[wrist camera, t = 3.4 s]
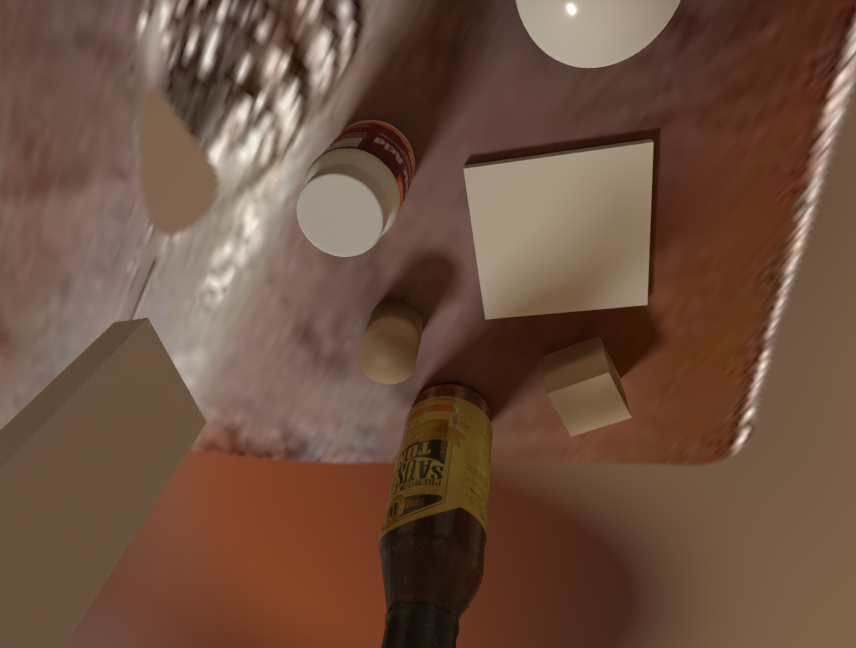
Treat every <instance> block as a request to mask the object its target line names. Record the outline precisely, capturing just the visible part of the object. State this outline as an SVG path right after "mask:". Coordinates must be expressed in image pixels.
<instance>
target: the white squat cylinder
mask: <svg viewBox="0 0 856 648" xmlns="http://www.w3.org/2000/svg"><path fill="white" fill-rule="evenodd" d="M679 3H680V0H515V4H516V7H517V10H518V14H519V16H520V18H521V20H522V23H523V25H524V26H525V28H526V30H527V32H528V33H529V35H530V36H531V38H532V39H533V41H534V42H535V43H536V44H537V45H538V46H539V47H540V48H541V49H542V50H543V51H544V52H545V53H546V54H548V55H549V56H551V57H552V58H554V59H555V60H558V61H560V62H562V63H564V64H567V65H571V66H574V67H582V68H597V67H604V66H608V65H612V64H615V63H618V62H620V61H623V60H625V59H627V58H629V57H631V56H632V55H634V54H636V53H638V52H639V51H640V50H642V49H643V48H644V47H646V46H647V45H648V44H649V43H650V42H651V41H652V40H654V39H655V38H656V37H657V35H658V34H659V33H660V32H661V31H662V30H663V29H664V27H665V26H666V25H667V23H668V22H669V20H670V19H671V17H672V16H673V14H674V12H675V10H676V9H677V7H678V5H679Z"/></svg>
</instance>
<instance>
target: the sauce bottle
mask: <svg viewBox="0 0 856 648" xmlns="http://www.w3.org/2000/svg"><path fill="white" fill-rule="evenodd" d="M490 421H491V413H490V408H489V407H488V405H487V403H486V401H485V400H484V399H483V397H481V395H479V394H478V393H476V392H475V391H474V390H471V389H470V388H468V387H466V386H463V385H457V384H442V385H436V386H433V387H430V388H427V389H425V391H424V392H421V393H420V394H419V395H418V397H417V398H416V400H415V402H414V404H413V405H412V409H411V410H410V412H409V414H408V416H407V419H406V423H405V428H404V432H403V437H402V441H401V446H400V450H399V455H398V459H397V464H396V467H395V472H394V478H393V482H392V486H391V491H390V495H389V500H388V504H387V509H386V513H385V518H384V522H383V526H382V530H381V535H380V540H379V549H380V555H381V563H382V572H383V580H384V589H385V597H386V605H387V613H386V616H385V631H384V637H383V642H382V647H381V648H456V638H457V636H458V633H459V624H458V623H459V621H458V619H459V618H460V616H461V614H463V612H465V610H466V609H467V608H468V607H469V604H470V602H471V601H472V600H473V599H474V597H475V595H476V593H477V592H478V590H479V587H480V584H481V581H482V576H483V569H484V567H483V565H484V547H485V544H486V541H487V523H488V522H487V521H488V502H489V483H490V464H491V446H492V427H491V423H490Z"/></svg>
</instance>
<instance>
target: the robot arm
mask: <svg viewBox="0 0 856 648" xmlns="http://www.w3.org/2000/svg"><path fill="white" fill-rule="evenodd" d="M205 424H206V420H205V419H204V417H203V415H202V413H201V411H200V410H199V408H198V406H197V404H196V403H195V401H194V399H193V397H192V396H191V394H190V392H189V390H188V388H187V387H186V385H185V383H184V381H183V380H182V378H181V376H180V374H179V372H178V371H177V369H176V367H175V365H174V364H173V362H172V360H171V358H170V357H169V355H168V353H167V351H166V349H165V348H164V346H163V344H162V342H161V341H160V339H159V337H158V335H157V333H156V332H155V330H154V328H153V326H152V325H151V323H150V321H149V319H148V318H144V319H137V320H130V321H123V322H115V323H113V324H112V325H111V326H110V327H109V328H108V329H107V330H106V331H105V332H104V333H103V334H102V335H101V336H100V337H99V338H98V339H96V340H95V341H94V342H93V343H92V344H91V345H90V346H89V347H88V348H87V349H86V350H85V351H84V352H83V353H82V354H81V355H80V356H79V357H77V358H76V359H75V360H74V361H73V362H72V363H71V364H70V365H69V366H68V367H67V368H66V369H65V370H64V371H63V372H62V373H61V374H60V375H58V376H57V377H56V378H55V379H54V380H53V381H52V382H51V383H50V384H49V385H48V386H47V387H46V388H45V389H44V390H43V391H42V392H41V393H39V394H38V395H37V396H36V397H35V398H34V399H33V400H32V401H31V402H30V403H29V404H28V405H27V406H26V407H25V408H24V409H23V410H22V411H20V412H19V413H18V414H17V415H16V416H15V417H14V418H13V419H12V420H11V421H10V422H9V423H8V424H7V425H6V426H5V427H4V428H3V429H1V430H0V648H64V646H65V645H66V643H67V642H68V640H69V638H70V637H71V635H72V633H73V632H74V631H75V629H76V628H77V626H78V624H79V623H80V621H81V620H82V618H83V616H84V615H85V613H86V612H87V610H88V609H89V607H90V605H91V604H92V602H93V601H94V599H95V598H96V596H97V594H98V593H99V591H100V590H101V588H102V586H103V585H104V583H105V582H106V580H107V579H108V577H109V575H110V574H111V572H112V571H113V569H114V567H115V566H116V564H117V563H118V561H119V560H120V558H121V556H122V555H123V553H124V551H125V550H126V548H127V547H128V545H129V544H130V542H131V541H132V539H133V537H134V536H135V534H136V533H137V531H138V530H139V528H140V526H141V525H142V523H143V522H144V520H145V518H146V517H147V515H148V514H149V512H150V511H151V509H152V507H153V506H154V504H155V503H156V501H157V500H158V498H159V496H160V495H161V493H162V491H163V489H164V488H165V487H166V485H167V484H168V482H169V481H170V479H171V477H172V476H173V474H174V473H175V471H176V469H177V468H178V466H179V465H180V463H181V462H182V460H183V458H184V457H185V455H186V454H187V452H188V451H189V449H190V447H191V446H192V444H193V443H194V441H195V439H196V438H197V436H198V435H199V433H200V432H201V430H202V428H203V427H204V425H205Z"/></svg>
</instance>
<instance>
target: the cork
mask: <svg viewBox="0 0 856 648" xmlns="http://www.w3.org/2000/svg"><path fill="white" fill-rule="evenodd" d="M423 326H424V322H423V318H422V315H421V313H420V312H419V310H418V309H417V308H416V307H415V306H413V305H412V304H410V303H408V302H406V301H403V300H397V299H393V300H387V301H384V302H382V303H380V304H379V305H377V306H376V308H375V309H374V310H373V312H372V315H371V318H370V320H369V323H368V326H367V329H366V332H365V334H364V337H363V340H362V343H361V345H360V348H359V351H358V354H357V361H358V365H359V367H360V369H361V370H362V372H363V373H364V374H365V375H366V376H367V377H369V378H370V379H372V380H374V381H376V382H379V383H383V384H397V383H400V382H403V381H405V380H406V379H408V378H409V377H410V376H411V375H412V373H413V371H414V369H415V364H416V359H417V355H418V350H419V345H420V340H421V336H422V331H423Z"/></svg>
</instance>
